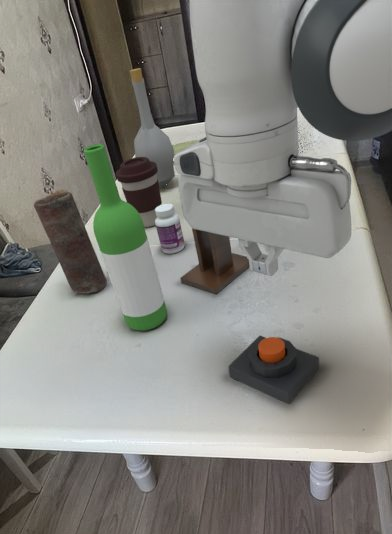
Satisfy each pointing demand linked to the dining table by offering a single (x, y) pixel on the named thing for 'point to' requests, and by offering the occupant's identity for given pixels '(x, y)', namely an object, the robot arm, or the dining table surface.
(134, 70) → the bottle
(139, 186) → the coffee cup
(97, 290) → the candle
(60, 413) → the dining table surface
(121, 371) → the dining table surface
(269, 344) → the cylinder
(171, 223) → the pill bottle
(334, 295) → the dining table surface
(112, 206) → the wine bottle
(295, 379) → the block
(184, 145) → the washcloth
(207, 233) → the lever bracket
